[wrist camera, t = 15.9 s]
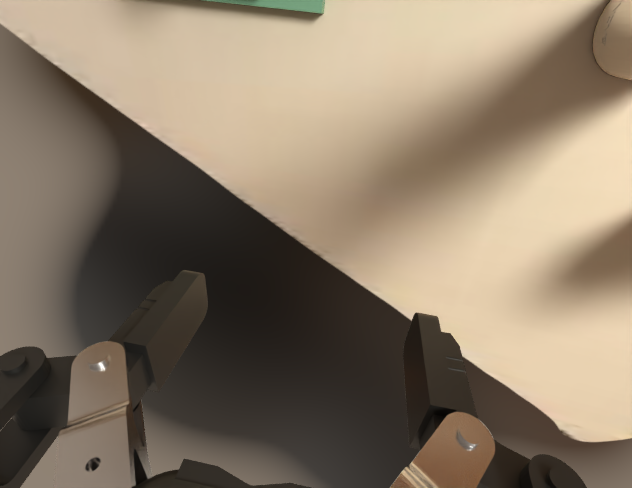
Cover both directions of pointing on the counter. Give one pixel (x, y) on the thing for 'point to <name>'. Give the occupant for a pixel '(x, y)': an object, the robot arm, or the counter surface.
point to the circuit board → (282, 4)
